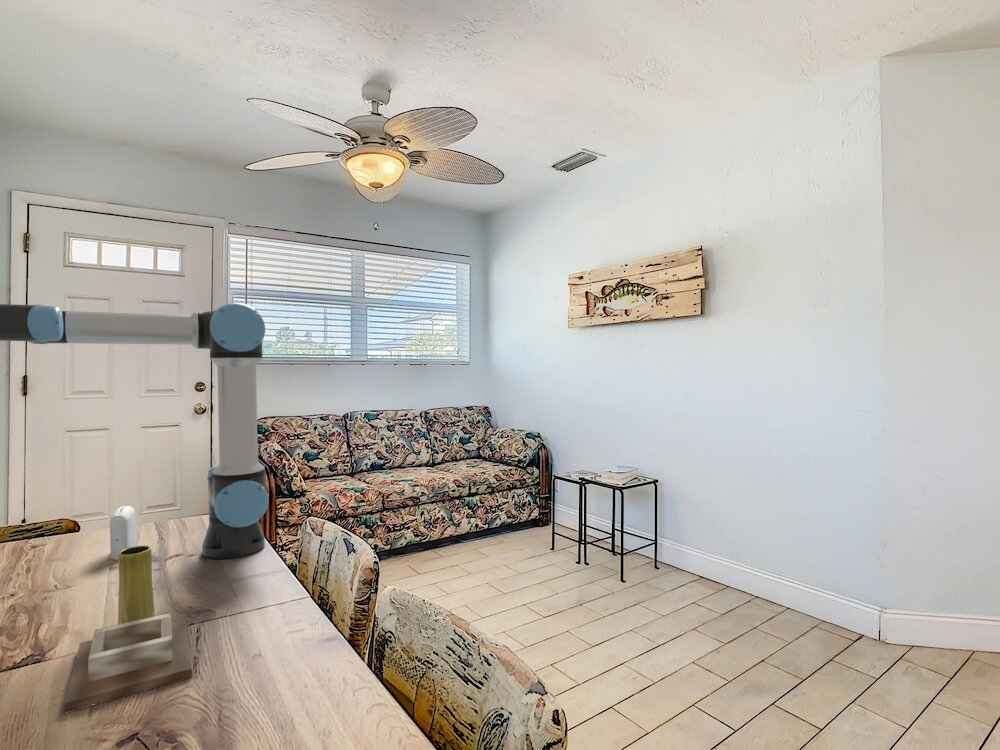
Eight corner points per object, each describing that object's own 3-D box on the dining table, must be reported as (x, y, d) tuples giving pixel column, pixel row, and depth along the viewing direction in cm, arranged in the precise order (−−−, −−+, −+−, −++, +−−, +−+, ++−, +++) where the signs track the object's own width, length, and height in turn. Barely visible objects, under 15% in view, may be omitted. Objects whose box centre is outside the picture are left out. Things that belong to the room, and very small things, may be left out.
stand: (185, 626, 103) (185, 600, 103) (191, 677, 86) (191, 646, 86) (80, 651, 94) (79, 623, 94) (64, 713, 77) (63, 679, 77)
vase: (162, 618, 106) (161, 546, 106) (132, 632, 100) (130, 557, 100) (140, 613, 108) (138, 543, 108) (109, 627, 102) (107, 553, 102)
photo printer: (128, 559, 139) (127, 511, 138) (108, 561, 137) (107, 513, 137) (138, 546, 148) (137, 501, 148) (119, 548, 147) (118, 503, 146)
